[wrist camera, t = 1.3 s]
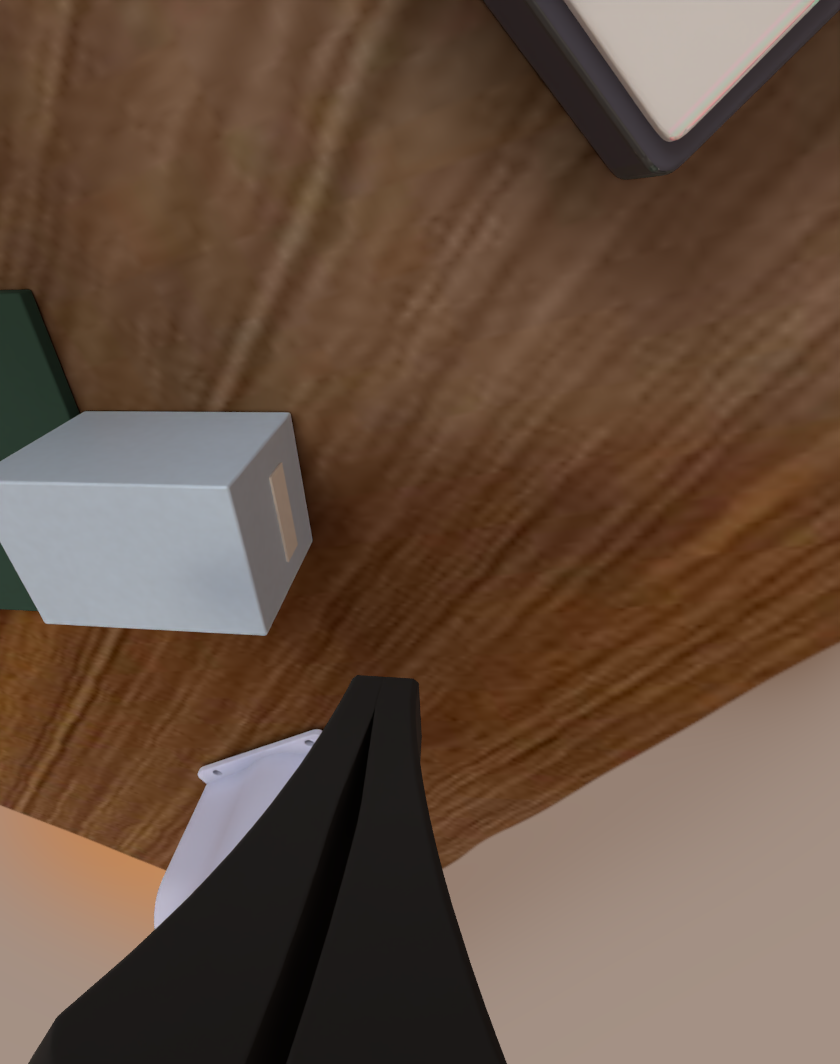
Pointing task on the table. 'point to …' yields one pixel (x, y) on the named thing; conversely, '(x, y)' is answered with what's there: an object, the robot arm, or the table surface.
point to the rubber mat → (26, 403)
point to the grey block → (158, 520)
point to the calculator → (656, 66)
